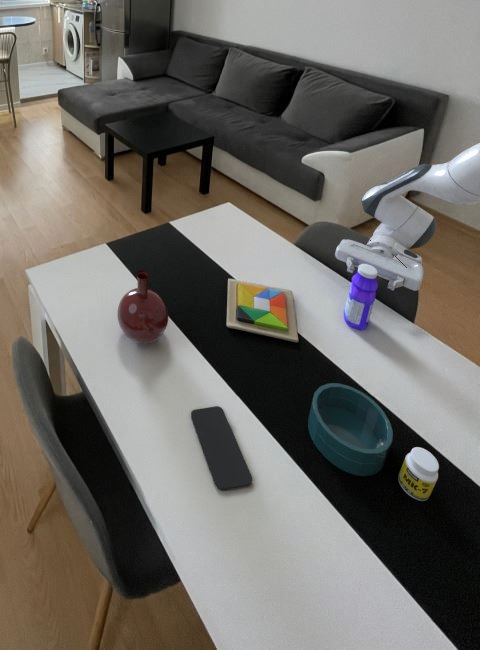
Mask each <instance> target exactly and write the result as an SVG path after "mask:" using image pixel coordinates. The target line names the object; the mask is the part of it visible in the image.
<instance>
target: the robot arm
mask: <svg viewBox="0 0 480 650" xmlns="http://www.w3.org/2000/svg"><path fill="white" fill-rule="evenodd" d="M411 191H415V192H420V193H424V194H427V195H429V196H432V197H435V198H437V199H439V200H443V201H444V202H447V203H449V204H453V205H458V206H464V207H465V206H466V207H467V206H477V205H479V204H480V142H478V143H477V144H474V145H472V146H470V147H468V148H467V149H465V150H463V151H462V152H460V153H459V154H457V155H456V156H454V157H453V158H452V159H451V160H449V161H448V162H445V163H438V164H430V163H422V164H419V165H416V166H414V167H412V168H410V169H408V170H407V171H406V170H405V171H404V172H403V173H401V174H399V175H397V176H396V177H393V178H391V179H390V180H387V181H385V182H384V183H380V184H377V185H375V186H374V187H372V188H370V189H368V190H367V191H366V192H365V194H364V195H363V196H362V199H361V201H360V203H361V206H362V210H363V212H364V213H365V214H367V215H369V216H370V217H372V218H373V219H376V220H377V221H379V222H380V224H379V225H378V226H377V227H376V228H375V230H374V231H373V233H372V236H371V237H370V238H369V240H368V241H367V243H366V244H363V243H361V242H358V241H356V240H352V239H341V241H340V242H339V244H338V245H337V247H336V249H335V253H334V257H335V258H336V259H337V260H338V261H341V262H343V263H345V264H346V266H347V269H346V272H348V273H349V274H354V272H355V270H356V268H358V267H359V265H361V264H368V265H371V266H373V267H374V268H375V269H376V270H377V272H378V273H377V277H380V278H381V279H384V280H387V281H388V283H387V287H386V289H388V290H391V291H395V289H398V288H402V287H404V288H406V289H409V290H411V291H414V292H416V291H420V288H421V286H422V282H423V279H424V267H423V266H422V265H423V258H422V256H420V255H419V254H417V253H415V252H413V251H411V250H414V249H419V248H422V247H423V246H425V245H426V244H428V242H429V241H430V240H431V239H432V238H433V236H434V235H435V233H436V231H437V220H436V218H435V216H433V215H432V214H430V213H429V212H428V211H427V210H425V209H423V208H422V207H420V206H418V205H417V204H416V203H413V202H412V201H411V200H409V199H407V198H406V197H404V196H403V195H404V194H405V193H408V192H411ZM370 240H371V241H370ZM392 254H393V255H394V256H393V255H392ZM395 256H396V257H397V258H398V259H399V260H400V261H401V262H402V263H403V264H404V265H405V266H406V267H407V268H406V267H405V266H404V265H403V264H402V263H401V262H400V261H399V260H398V259H397V258H396V257H395Z"/></svg>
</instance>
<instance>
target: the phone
mask: <svg viewBox="0 0 480 650" xmlns="http://www.w3.org/2000/svg"><path fill="white" fill-rule="evenodd" d="M226 415H227V414H226V413H225V411H224V409H223V408H222V407H221V406H218V405H215V406H209V407H203V408H197V409H193V410H191V412H190V418H191V421H193V422H192V424H193V427H194V430H195V433H196V435H198V436H197V438H198V442H199V443H200V447H201V446H202V447H201V449H203V450H202V452H203V455H204V458H205V460H206V463H207V466H208V469H209V472H210V475H211V477H212V480H213V483H214V486H215V488H217V490H218V491H221V492H224V491H229V490H236V489H242V488H247V487H250V486H252V484H253V476H252V473H251V471H250V469H249V466H248V464H247V461H246V459H245V457H244V455H243V453H242V449H241V447H240V445H239V443H238V441H237V438H236V436H235V434H234V432H233V429H232V427H231V425H230V422H229V420H228V418H227V416H226Z"/></svg>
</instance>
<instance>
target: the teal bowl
mask: <svg viewBox="0 0 480 650" xmlns="http://www.w3.org/2000/svg"><path fill="white" fill-rule="evenodd" d="M307 428H308V433H309V437H310V438H311V440H312V443H313V444H314V445H315V448H316V449H317V450H318V452H319V453H320V454H321V455H322V456H323V457H324V458H325V459H326V460H327V461H328V462H329V463H331V464H332V465H333V466H335V467H336V468H338V469H339V470H341V471H342V472H346V473H347V474H351V475H353V476H359V477H369V476H370V477H371V476H373V475H374V476H375V475H376V474H377V473H379V472H380V471H381V470H382V469H383V467H384V465H385V464H386V461H387V458H388V455H389V453H390V449H391V446H392V444H393V438H394V437H393V436H394V431H393V428H392V424H391V421H390V420H389V418H388V416H387V415H386V413H385V411H384V409H382V408H381V406H379V405H378V404H377V402H376V401H375V400H374V399H373V398H371V397H370V396H368V395H367V394H366V393H364V392H363V391H361V390H359V389H356V388H354V387H352V386H350V385H347V384H342V383H334V382H333V383H326V384H324V385H320V386H319V387H318V388H317V389H316V391H314V393H313V397H312V400H311V405H310V409H309V415H308V418H307Z"/></svg>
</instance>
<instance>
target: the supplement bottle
mask: <svg viewBox="0 0 480 650" xmlns="http://www.w3.org/2000/svg"><path fill="white" fill-rule="evenodd" d="M439 469H440V464H439V461H438V460H437V458H436V457H435V456H434V454H432V453H431V452H430V451H429V450H427V449H425V448H423V447H419V446H416V447H415V446H414V447H413V448H412V449H411V450H410V452H408V453H407V454H406V455H405V457H404V460H403V462H402V465H401V468H400V470H399V472H398V476H397V478H398V479H397V480H398V483H399V485H400V487H401V489H402V490H403V491H404V492H405V493H406V494H407V495H408V496H409V497H411V498H412V499H415V500H417V501H420V502H424V501H425V502H426V501H427V500H428V499H429V498H430V497H431V494H432V492H433V490H434V488H435V486H436V484H437V481H438V479H439Z"/></svg>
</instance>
